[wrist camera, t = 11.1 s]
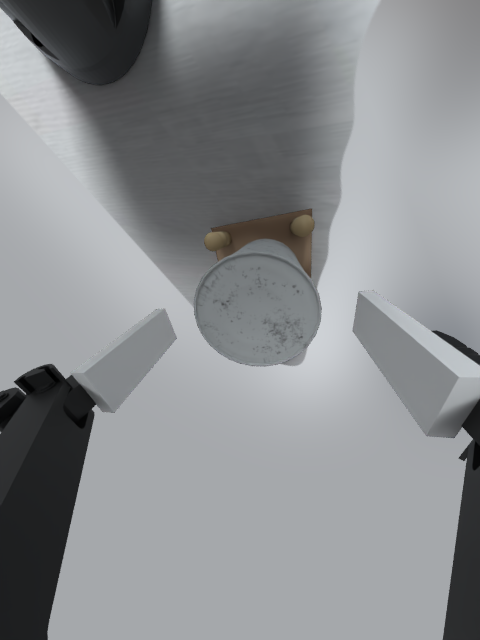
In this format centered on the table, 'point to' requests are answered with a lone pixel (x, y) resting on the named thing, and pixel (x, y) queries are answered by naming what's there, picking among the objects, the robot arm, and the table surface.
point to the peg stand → (266, 235)
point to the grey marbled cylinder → (258, 305)
